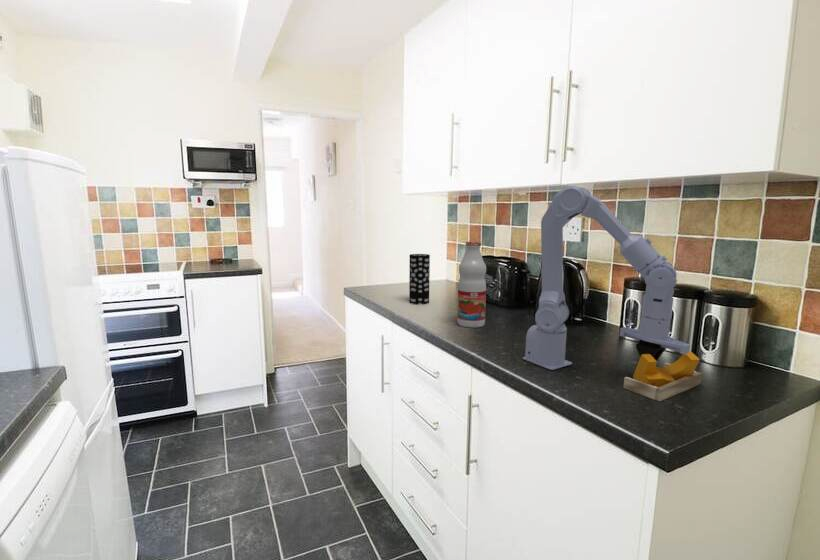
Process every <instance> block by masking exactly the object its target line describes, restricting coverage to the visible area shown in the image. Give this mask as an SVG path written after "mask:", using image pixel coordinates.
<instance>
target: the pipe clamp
mask: <svg viewBox="0 0 820 560" xmlns="http://www.w3.org/2000/svg"><path fill="white" fill-rule="evenodd" d="M699 362H700V358H699V357H698V356H697V355H696V354H694V353H693V352H692V351H689V353H688V354H681V356H680V357H679V358H678V359H677V360H676V361H675V362H673V363H670V364H671V365H669V366H666V367H664V366H662V367H660V366H657V363H658V360H657V361H656V360H655V359H654V358H653V357H652V356H651V355H650V354H642V355H641V357H640V356H639V361H638V363H637V365H636V368H635V370H634V372H633V375H632V377H633V378H632V379H635V380H638V381H641V382H644V383H647V384H649V385H652V386H655V387H661V386H663V385H666V384H668V383H671V382H673V381H676V380H678V379H681V378H683V377H686V376H688V375H693V373H694V371H696V368H697V366H698V364H699Z"/></svg>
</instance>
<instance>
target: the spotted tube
mask: <svg viewBox="0 0 820 560" xmlns="http://www.w3.org/2000/svg"><path fill="white" fill-rule="evenodd" d="M430 259H431V255H430V254H429V253H412V254H410V253H409V277H408V278H409V279H408V280H409V284H408V285H409V286H408V287H409V290H408V291H409V297H408V299H409V301H408V303H409V302H410V303H409V304H411V303H414V304H413V305H417V304H422V305H427V303H428V304H430V276H431V275H430V271H431V269H430V266H431V265H430V264H431V263H430V262H431V260H430Z"/></svg>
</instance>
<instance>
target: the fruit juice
mask: <svg viewBox="0 0 820 560" xmlns="http://www.w3.org/2000/svg"><path fill="white" fill-rule="evenodd" d="M481 246H482V243H481V241H466V242H465V248H466V249H465V252H464V254H463V257H462V259H461V261H460V263H459V266H458V273H459V278H458V281H457V282H458V283H457V313H456V315H457V316H456V317H457V318H456V321H457V322H456V323H457V325H459V326H460V327H463V328H481V327H483V326H485V323H486V310H487V309H486V304H487V303H486V301H487V281H486V277H485V276H486V273H487V265H486V263H485V260H484V259H483V255H482V252H481Z"/></svg>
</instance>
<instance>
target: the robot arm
mask: <svg viewBox="0 0 820 560" xmlns="http://www.w3.org/2000/svg"><path fill="white" fill-rule="evenodd" d="M579 215H580V216H582V217H584V218H585V217H586V218H589V219H592V220H595V221H596V222H597V223H598V224H599V225H600V226H601V227H602V228H603V230H605V231H606V232H607V233H608V234H609V235H610V236H611V237H612V238H613V239H615V241H616V242H617V243H618V244H619V254H620V255H621V256H622V257H623V258H624V259H625V260H626V261H627V263H629V264H630V265H631V267H632V268H634V270H636V272H637V273H638V274H639V275H642V276H644V283H645V285H646V286H645V293H644V294H643V299H642V307H641V314H640V321H639V329H636V328H631V327H626V326H624V327H620V328H619V337H623V338H624V337H625V338H629V339H632V340H636V341H638V343H636V344H635V348H636V350H637V352H638V355H639V358H640V357H641V355H642V354H650V355H651V356H652V357H653V358H654V359H655V360H656V361H657V362H658V360H659V358H660V357H661V356H662V355H663V353H664V352H665V351H666V350H671V351H675V352H678V353H679V354H681V355H682V354H688V353H689V352H690V348H691V344H690V343H687V342H684V341H681V340H678V339H675V338H673V337H670V336H669V333H670V328H671V327H670V326H671V320H672V312H673V307H674V306H673V304H674V297H673V296H674V294H675V293H674V292H675V289H674V288H675V286H676V284H677V283H678V279H677V271H676V269H675V266H673V264H672V263H671V262H669V261H668V258H667V257H666V256H665V255H663V256H662V255H661V254H660V253H659V252H658V251H657V250H656V249H655V248H654V247H653V246H652V245H651V244H652V242H653V241H652V240H651V239H650V238H648V237H647V238H645V237H643V235H634V234H632V233H631V231H630V230H628V229H627V227H626V226H625V225H624V224H623V223H622V222H621V221H620V220H619V218H618V217H617V216H616V215H615V214H614V213H613V212H612V211H611V209H610V208H609V207H608V206H607V205H606V204H605V203H604V202H603V201H601V200H600V199H599V198H598V197H597V196H595V195H593V194H592V193H591V192H590V191H589V189H586V188H584V187H580V186H577V185H568V186H566V187H563V188H562V189H561V190H559V191H558V192H557V193H556V194H555V195H554V196H553V197H552V199H551V203H550V204H549V206H548V208H547V210H546V211H545V213H544V215H543V216H542V218H541V220H540V235H541V237H540V238H541V239H540V241H541V245H540V246H541V247H540V248H541V249H540V250H541V253H540V254H541V258H540V259H541V293H540V296H539V300H538V308H537V311H536V312H535V315H534V320H535V324H534V325H532V326H530V327H529V328H528V330H527V332H526V337H525V353H524V354H525V355H524V356H523V357H522V359H523V360H525V361H527V362H529V363H532V364H534V365H538V366H540V367H541V368H545V369H547V370H550V371H553V370H557V369H560V368H563V367H567V366H571V365H573V362H572V361H569V360H567V359H566V349H567V347H566V345H567V333H568V332H567V331H568V328H567V326H566V324H565V322H567V320H568V318H569V315H570V310H569V309H570V308H569V307H568V305H567V303H566V295H565V292H564V249H563V248H564V247H563V246H564V235H563V234H564V233H563V231H564V226H566V225H567V224H568V223H569V222H570V221H572V219H574V218H575V217H576V216H579Z"/></svg>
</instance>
